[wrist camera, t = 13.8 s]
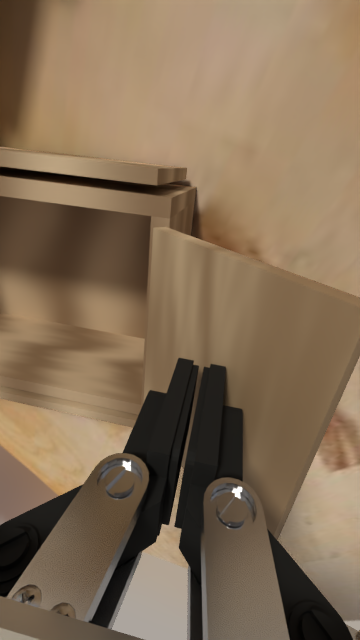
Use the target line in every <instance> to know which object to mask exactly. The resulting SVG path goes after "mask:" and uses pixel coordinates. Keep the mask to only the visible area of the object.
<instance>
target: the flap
mask: <svg viewBox="0 0 360 640" xmlns="http://www.w3.org/2000/svg"><path fill="white" fill-rule="evenodd" d="M359 356H360V297H357V296H354V295H351V294H349V293H346V292H343V291H340V290H338V289H335V288H332V287H329V286H327V285H324V284H321V283H318V282H316V281H313V280H310V279H307V278H305V277H302V276H299V275H296V274H294V273H291V272H288V271H285V270H283V269H280V268H277V267H274V266H272V265H269V264H266V263H263V262H261V261H258V260H255V259H253V258H250V257H247V256H244V255H242V254H239V253H236V252H233V251H231V250H228V249H225V248H222V247H220V246H217V245H214V244H211V243H209V242H206V241H203V240H200V239H198V238H195V237H192V236H189V235H187V234H184V233H181V232H178V231H176V230H173V229H170V228H167V227H156V228H153V242H152V260H151V277H150V295H149V313H148V330H147V348H146V365H145V383H144V400H143V403H144V401H145V399H146V396H147V394H148V392H149V391H150V390H153V391H158V392H163V393H167V390H168V387H169V384H170V382H171V379H172V376H173V373H174V370H175V367H176V364H177V361H178V358H184V359H189V360H194V364H193V365H198V366H199V370H198V376H197V382H196V388H195V394H194V400H193V407H192V413H191V419H190V425H189V430H188V435H187V440H186V445H185V449H184V454H183V459H182V464H181V466H182V467H183V468H184V467H185V461H186V455H187V450H188V445H189V440H190V435H191V430H192V425H193V419H194V414H195V409H196V404H197V399H198V394H199V389H200V384H201V379H202V374H203V368H204V367H209V368H210V364H215V365H220V366H225V367H226V373H225V384H224V396H223V405H225V406H230V407H235V408H240V409H242V410H243V482H244V483H246V484H247V485H248V486H250V487H251V488H252V489H253V490H254V491H255V493H256V494H257V496H258V497H259V499H260V501H261V504H262V507H263V511H264V516H265V521H266V526H267V529H268V530H269V531H270V532H271V534H272V535H273V536H274V537H275V538H276V540H277V539H278V537H279V535H280V533H281V530H282V528H283V526H284V524H285V522H286V519H287V517H288V515H289V513H290V510H291V508H292V506H293V504H294V501H295V499H296V497H297V495H298V493H299V490H300V488H301V486H302V484H303V481H304V479H305V477H306V475H307V472H308V470H309V468H310V466H311V463H312V461H313V459H314V457H315V455H316V452H317V450H318V448H319V446H320V443H321V441H322V439H323V437H324V434H325V432H326V430H327V428H328V426H329V423H330V421H331V419H332V417H333V414H334V412H335V410H336V408H337V405H338V403H339V401H340V399H341V397H342V394H343V392H344V390H345V388H346V385H347V383H348V381H349V379H350V376H351V374H352V372H353V370H354V367H355V365H356V363H357V361H358V359H359Z"/></svg>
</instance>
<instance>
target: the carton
mask: <svg viewBox="0 0 360 640" xmlns="http://www.w3.org/2000/svg"><path fill="white" fill-rule="evenodd" d="M186 173H187V168H182V167H173V166H164V165H155V164H147V163H138V162H129V161H120V160H112V159H103V158H94V157H85V156H77V155H68V154H59V153H50V152H42V151H33V150H24V149H15V148H7V147H0V399H4V400H9V401H14V402H18V403H23V404H27V405H32V406H37V407H41V408H46V409H50V410H55V411H60V412H64V413H69V414H73V415H78V416H83V417H87V418H92V419H96V420H101V421H106V422H110V423H115V424H119V425H124V426H129V427H134V425H135V422H136V420H137V418H138V415H139V413H140V411H141V408H142V406H143V400H144V383H145V365H146V348H147V330H148V313H149V295H150V277H151V260H152V242H153V228H156V227H167V228H170V229H173V230H176V231H178V232H181V233H184V234H187V235H189V236H191V231H192V222H193V213H194V204H195V196H196V187H191V186H183V185H175V184H167V183H171V182H176V181H180V180H185V179H186Z"/></svg>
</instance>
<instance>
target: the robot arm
mask: <svg viewBox="0 0 360 640" xmlns="http://www.w3.org/2000/svg"><path fill="white" fill-rule="evenodd" d="M193 364H194V360H189V359H184V358H178V361H177V364H176V367H175V370H174V373H173V376H172V379H171V382H170V384H169V387H168V390H167V393H163V392H158V391H153V390H150V391H149V392H148V394H147V396H146V399H145V401H144V403H143V406H142V408H141V411H140V413H139V415H138V418H137V420H136V422H135V425H134V427H133V430H132V432H131V434H130V437H129V439H128V441H127V444H126V446H125V449H124V451H123V453H117V454H114V455H110V456H108V457H106V458H105V459H103V460H102V461H100V463H99V464H98V465H97V466H96V467H95V468H94V470H93V471H92V473H91V474H90V476H89V477H88V479H87V480H86V481H85V483H84V484H83V485H81V486H79V487H77V488H75V489H73V490H71V491H69V492H67V493H65V494H62V495H60V496H58V497H56V498H54V499H52V500H50V501H48V502H46V503H44V504H42V505H40V506H38V507H36V508H34V509H32V510H30V511H27V512H25V513H23V514H21V515H19V516H17V517H15V518H13V519H11V520H9V521H7V522H5V523H3V524H2V525H0V640H143V639H140V638H137V637H134V636H131V635H127V634H124V633H120V632H117V631H114V630H111V629H112V627H113V624H114V622H115V619H116V617H117V614H118V612H119V610H120V607H121V605H122V602H123V600H124V597H125V595H126V592H127V590H128V587H129V585H130V582H131V580H132V577H133V575H134V572H135V570H136V568H137V565H138V563H139V560H140V558H141V554H142V551H143V550H144V549H146V548H147V547H149V546H150V545H152V544H153V543H155V542H156V539H157V535H158V536H159V534H160V530H161V525H162V524H165V525H169V522H170V517H171V512H172V507H173V502H174V498H175V493H176V488H177V483H178V478H179V474H180V469H181V464H182V459H183V454H184V449H185V445H186V440H187V435H188V430H189V425H190V419H191V413H192V407H193V400H194V394H195V388H196V382H197V376H198V370H199V366H198V365H193ZM225 373H226V367H225V366H220V365H215V364H210V368H209V367H204V368H203V374H202V379H201V384H200V389H199V394H198V399H197V404H196V409H195V414H194V419H193V425H192V430H191V435H190V440H189V445H188V450H187V455H186V461H185V467H184V473H183V479H182V485H181V491H180V497H179V503H178V509H177V515H176V521H175V527H177V528H181V529H182V530H181V536H180V544H179V549H180V551H181V552H182V554H183V556H184V557H185V559H186V561H187V563H188V564H189V566H188V624H187V626H188V627H187V640H360V630H359V631H357V630H355V629H353V628H351V627H350V626H348V625H346V624H345V623H344V621H343V620H342V618H341V617H340V615H339V614H338V613H337V611H336V610H335V609H334V608H333V607H332V605H331V604H330V603H329V602H328V601H327V599H326V598H325V597H324V596H323V595H322V593H321V592H320V591H319V590H318V589H317V587H316V586H315V585H314V584H313V583H312V581H311V580H310V579H309V578H308V577H307V575H306V574H305V573H304V572H303V571H302V569H301V568H300V567H299V566H298V565H297V563H296V562H295V561H294V560H293V559H292V558H291V556H290V555H289V554H288V553H287V552H286V550H285V549H284V548H283V547H282V546H281V544H280V543H279V542H278V541H277V540H276V538H275V537H274V536H273V535H272V534H271V532H270V531H269V530H268V529H267V526H266V521H265V516H264V511H263V507H262V504H261V501H260V499H259V497H258V496H257V494H256V493H255V491H254V490H253V489H252V488H251V487H250V486H248V485H247V484H246V483H244V482H243V410H242V409H240V408H235V407H230V406H225V405H223V396H224V384H225Z"/></svg>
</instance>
